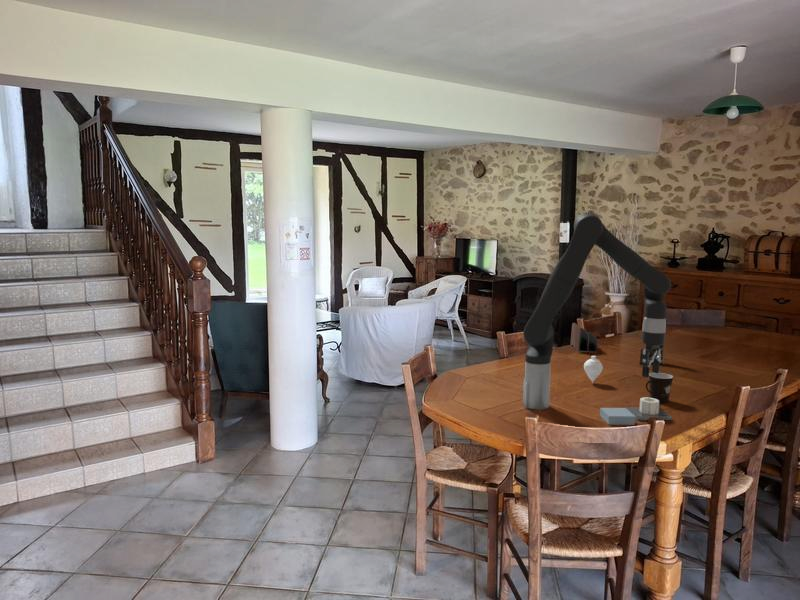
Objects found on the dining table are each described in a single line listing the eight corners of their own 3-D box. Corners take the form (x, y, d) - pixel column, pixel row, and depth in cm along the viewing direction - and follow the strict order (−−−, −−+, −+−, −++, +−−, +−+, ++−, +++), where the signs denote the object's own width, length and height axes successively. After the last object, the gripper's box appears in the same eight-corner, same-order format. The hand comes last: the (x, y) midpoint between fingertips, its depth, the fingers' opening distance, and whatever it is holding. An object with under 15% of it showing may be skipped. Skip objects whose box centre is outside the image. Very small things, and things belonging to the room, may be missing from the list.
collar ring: (653, 415, 199) (654, 403, 198) (637, 411, 203) (637, 399, 203) (660, 411, 203) (661, 400, 202) (644, 407, 207) (644, 396, 207)
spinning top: (589, 386, 241) (591, 358, 239) (579, 381, 248) (580, 354, 246) (605, 384, 243) (606, 357, 241) (594, 380, 250) (596, 353, 248)
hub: (637, 420, 199) (637, 406, 198) (626, 411, 208) (627, 397, 208) (671, 420, 198) (672, 406, 198) (659, 411, 208) (660, 398, 208)
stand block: (608, 424, 194) (608, 416, 194) (599, 415, 203) (600, 407, 203) (634, 424, 194) (635, 416, 194) (625, 416, 203) (625, 408, 203)
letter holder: (578, 353, 303) (579, 327, 301) (570, 345, 322) (571, 321, 320) (597, 353, 302) (598, 327, 300) (588, 345, 321) (589, 321, 319)
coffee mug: (664, 397, 225) (666, 372, 224) (675, 403, 217) (677, 378, 216) (635, 397, 225) (637, 372, 224) (645, 404, 217) (647, 378, 215)
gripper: (656, 334, 192) (652, 380, 194) (672, 329, 202) (669, 373, 204) (634, 331, 197) (631, 376, 199) (651, 326, 207) (648, 369, 209)
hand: (650, 374), depth 202 cm, fingers open, 8 cm apart
